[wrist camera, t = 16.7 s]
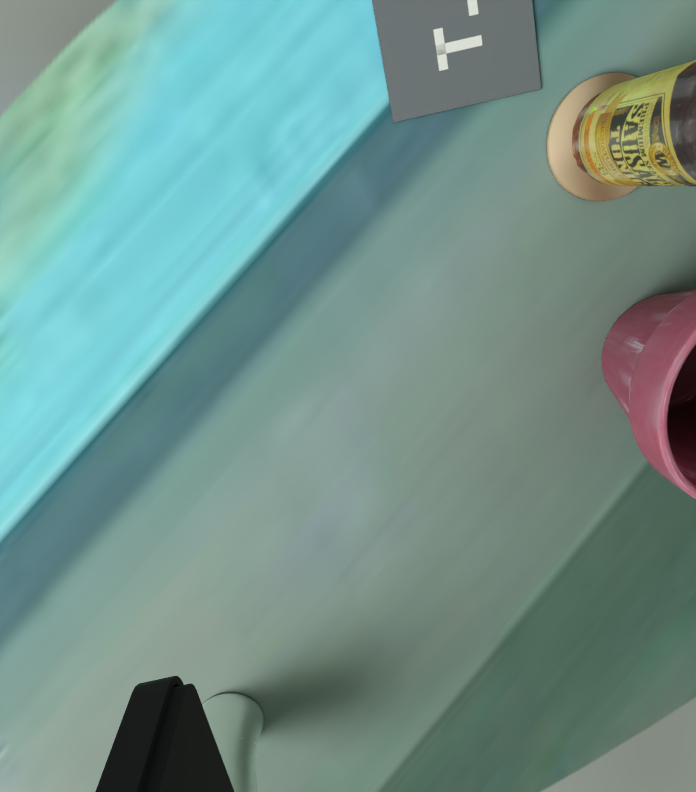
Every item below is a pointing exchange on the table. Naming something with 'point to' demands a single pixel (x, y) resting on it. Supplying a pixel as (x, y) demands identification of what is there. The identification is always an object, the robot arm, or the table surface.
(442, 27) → the gray card
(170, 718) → the robot arm
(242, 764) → the beer glass
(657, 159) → the sauce bottle
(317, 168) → the table surface
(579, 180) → the coaster
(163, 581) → the table surface
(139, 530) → the table surface
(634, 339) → the plant pot
